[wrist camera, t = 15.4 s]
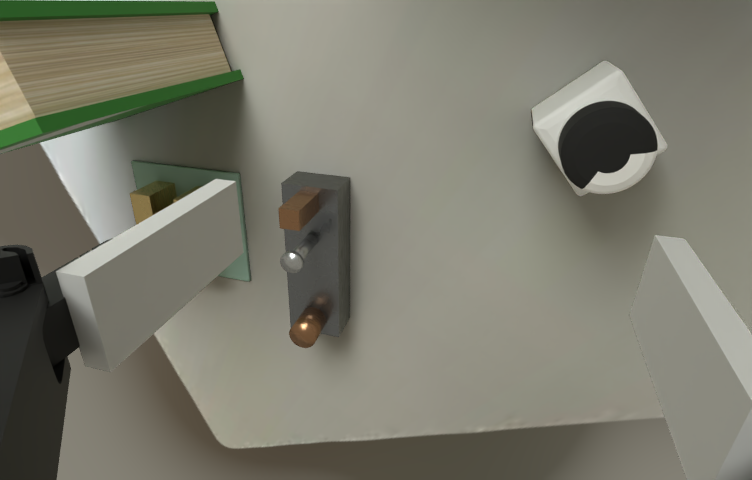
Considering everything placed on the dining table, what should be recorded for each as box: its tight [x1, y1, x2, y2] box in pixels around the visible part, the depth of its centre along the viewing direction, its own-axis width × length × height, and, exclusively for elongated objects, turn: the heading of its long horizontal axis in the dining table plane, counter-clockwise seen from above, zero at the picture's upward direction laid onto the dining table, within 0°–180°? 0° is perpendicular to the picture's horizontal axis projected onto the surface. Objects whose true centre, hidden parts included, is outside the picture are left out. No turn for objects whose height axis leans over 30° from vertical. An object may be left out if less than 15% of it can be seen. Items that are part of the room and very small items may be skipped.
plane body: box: [279, 171, 350, 348], centre depth 52 cm, size 18×6×9 cm, turn 178°
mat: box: [131, 161, 251, 281], centre depth 59 cm, size 14×14×1 cm
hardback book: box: [0, 0, 244, 154], centre depth 41 cm, size 18×7×24 cm, turn 107°
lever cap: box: [130, 181, 202, 225], centre depth 56 cm, size 10×8×5 cm
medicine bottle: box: [531, 61, 668, 196], centre depth 37 cm, size 7×7×12 cm
